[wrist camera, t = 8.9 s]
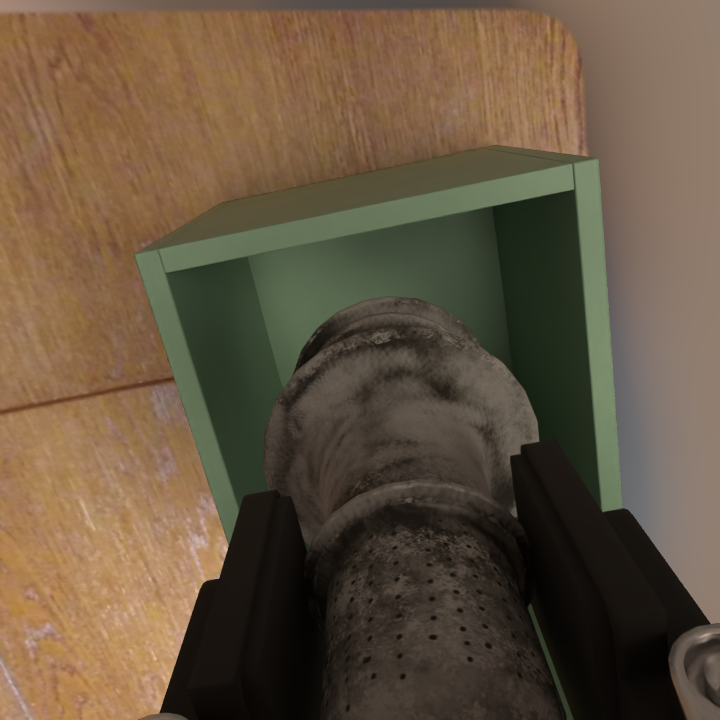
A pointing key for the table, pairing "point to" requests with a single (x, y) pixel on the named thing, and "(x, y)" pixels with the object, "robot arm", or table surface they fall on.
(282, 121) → the table surface
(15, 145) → the table surface
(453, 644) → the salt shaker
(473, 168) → the chest
